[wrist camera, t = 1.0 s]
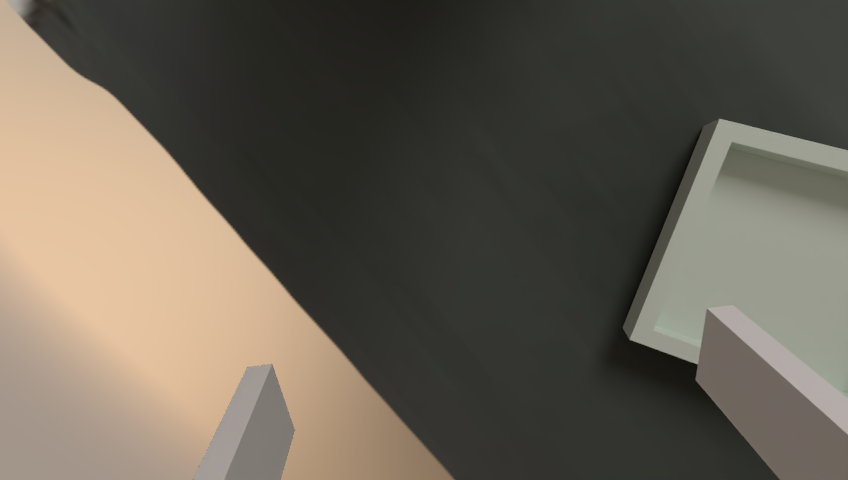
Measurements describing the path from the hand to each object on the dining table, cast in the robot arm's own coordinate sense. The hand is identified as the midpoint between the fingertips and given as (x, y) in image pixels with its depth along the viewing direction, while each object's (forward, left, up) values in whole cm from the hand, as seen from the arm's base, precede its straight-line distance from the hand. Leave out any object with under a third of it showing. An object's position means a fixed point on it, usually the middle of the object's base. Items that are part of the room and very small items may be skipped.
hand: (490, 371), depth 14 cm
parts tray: (-6, +17, -23) cm, 29 cm away
